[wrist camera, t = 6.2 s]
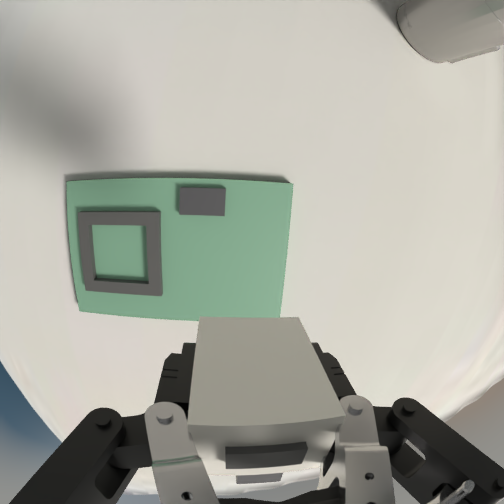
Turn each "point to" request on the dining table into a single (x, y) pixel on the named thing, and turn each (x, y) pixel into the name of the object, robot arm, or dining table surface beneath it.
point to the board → (179, 246)
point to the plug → (260, 399)
